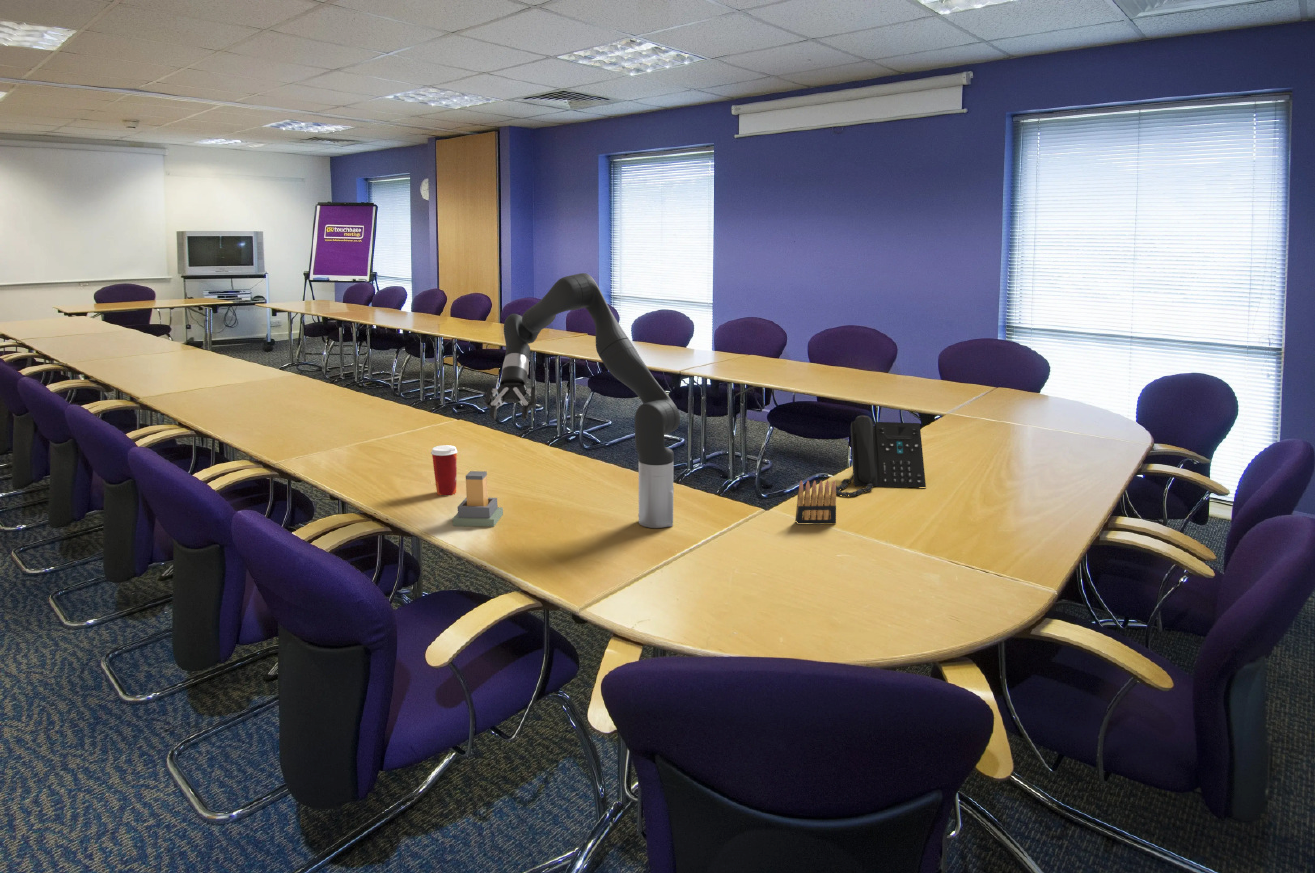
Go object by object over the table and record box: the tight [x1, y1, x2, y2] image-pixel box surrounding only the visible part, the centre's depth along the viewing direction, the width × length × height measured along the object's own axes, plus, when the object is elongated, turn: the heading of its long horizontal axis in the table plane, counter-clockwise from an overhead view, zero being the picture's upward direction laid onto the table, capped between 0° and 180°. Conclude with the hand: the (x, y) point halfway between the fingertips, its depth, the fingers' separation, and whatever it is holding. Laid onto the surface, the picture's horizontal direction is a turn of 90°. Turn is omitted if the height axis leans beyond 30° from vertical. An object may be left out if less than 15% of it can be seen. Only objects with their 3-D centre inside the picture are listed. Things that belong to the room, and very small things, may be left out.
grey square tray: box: [452, 496, 504, 528], centre depth 217 cm, size 11×10×5 cm
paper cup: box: [430, 444, 458, 496], centre depth 239 cm, size 8×8×14 cm
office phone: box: [836, 414, 927, 498], centre depth 250 cm, size 29×28×20 cm
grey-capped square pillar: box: [465, 470, 489, 506], centre depth 216 cm, size 4×4×11 cm
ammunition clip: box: [794, 479, 837, 523], centre depth 216 cm, size 11×2×12 cm, turn 93°
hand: (508, 419), depth 226 cm, fingers open, 8 cm apart
